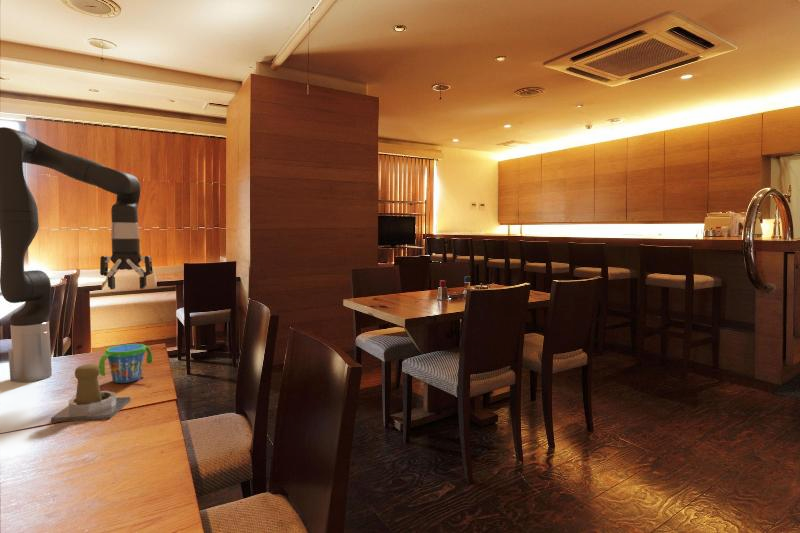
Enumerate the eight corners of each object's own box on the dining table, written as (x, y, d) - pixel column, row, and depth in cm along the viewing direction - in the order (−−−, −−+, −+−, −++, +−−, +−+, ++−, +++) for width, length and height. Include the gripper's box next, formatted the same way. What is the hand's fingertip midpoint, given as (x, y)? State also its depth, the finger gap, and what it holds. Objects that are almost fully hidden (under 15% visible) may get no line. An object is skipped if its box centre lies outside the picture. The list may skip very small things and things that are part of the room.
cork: (102, 409, 115) (100, 366, 114) (72, 414, 112) (70, 370, 111) (104, 401, 120) (102, 360, 119) (76, 405, 117) (74, 363, 116)
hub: (51, 422, 110) (50, 408, 109) (77, 403, 122) (76, 390, 121) (110, 418, 112) (109, 405, 112) (130, 400, 124) (130, 388, 123)
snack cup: (143, 370, 150) (142, 340, 149) (161, 376, 144) (160, 344, 143) (91, 383, 137) (89, 350, 136) (108, 390, 131) (107, 355, 130)
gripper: (154, 237, 148) (155, 287, 149) (105, 236, 145) (107, 287, 146) (146, 237, 140) (147, 290, 142) (94, 237, 138) (96, 290, 139)
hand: (127, 288), depth 144 cm, fingers open, 8 cm apart
